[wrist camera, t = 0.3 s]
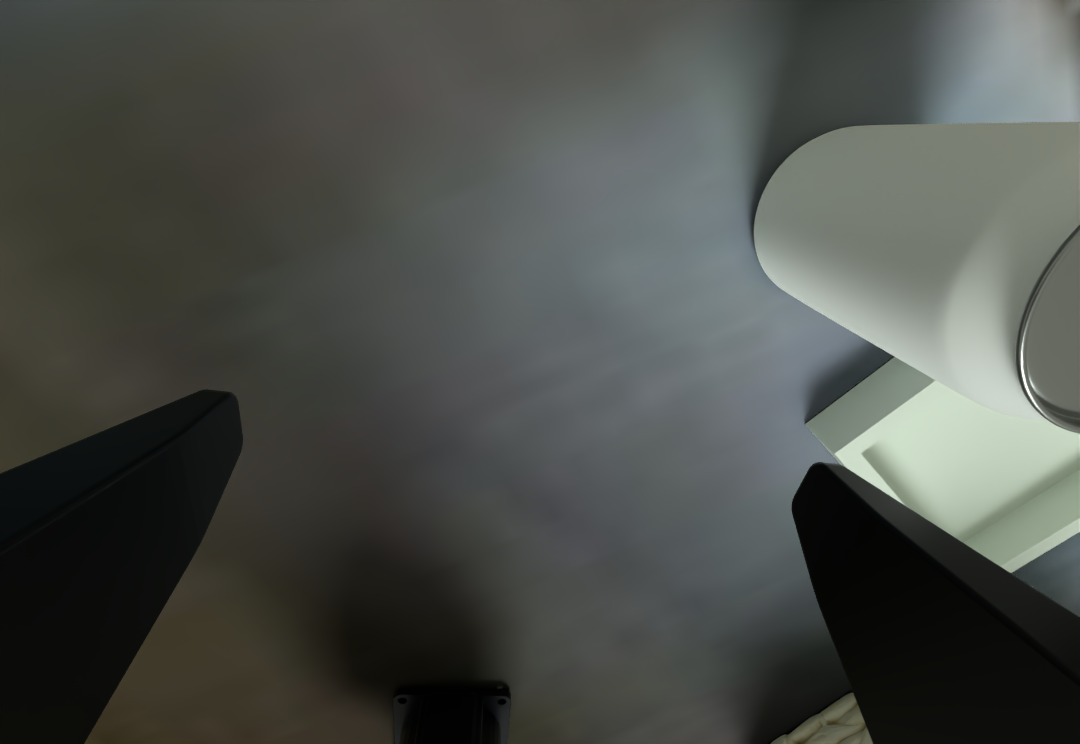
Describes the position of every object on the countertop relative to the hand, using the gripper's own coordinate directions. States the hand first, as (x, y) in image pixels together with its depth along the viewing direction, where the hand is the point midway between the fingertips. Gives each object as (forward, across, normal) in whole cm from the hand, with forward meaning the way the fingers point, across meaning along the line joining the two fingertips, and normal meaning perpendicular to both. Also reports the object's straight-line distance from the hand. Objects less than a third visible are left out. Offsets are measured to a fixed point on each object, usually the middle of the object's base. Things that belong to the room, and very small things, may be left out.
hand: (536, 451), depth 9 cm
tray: (+13, -22, +6) cm, 27 cm away
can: (+14, -12, -2) cm, 19 cm away
